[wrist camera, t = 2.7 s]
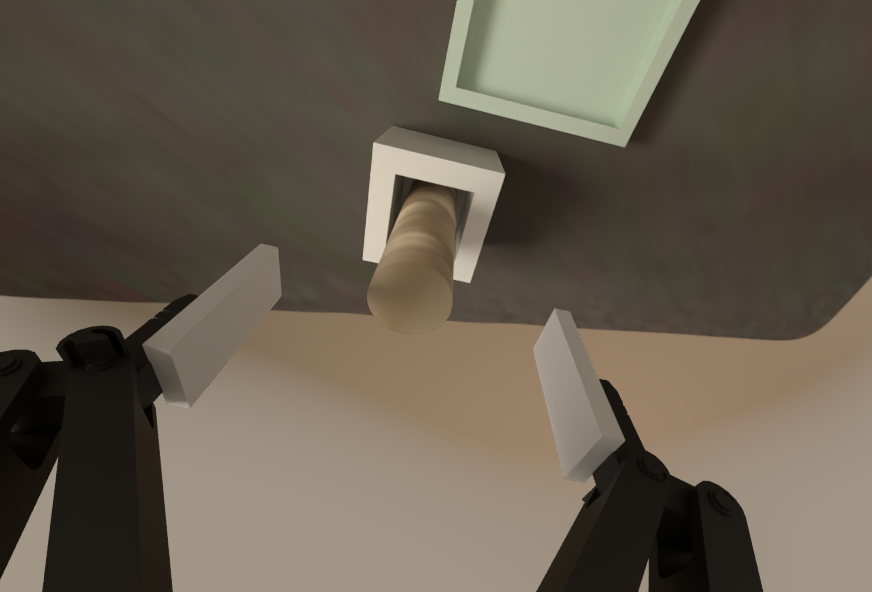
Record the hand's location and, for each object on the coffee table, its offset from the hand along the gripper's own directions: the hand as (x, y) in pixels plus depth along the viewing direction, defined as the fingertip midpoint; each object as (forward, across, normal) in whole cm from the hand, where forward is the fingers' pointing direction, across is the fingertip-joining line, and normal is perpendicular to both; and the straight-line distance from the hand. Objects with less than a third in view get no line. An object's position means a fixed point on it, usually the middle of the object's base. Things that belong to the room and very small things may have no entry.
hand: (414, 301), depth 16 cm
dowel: (+16, 0, 0) cm, 16 cm away
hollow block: (+16, 0, 0) cm, 16 cm away
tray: (+16, +6, +13) cm, 22 cm away
